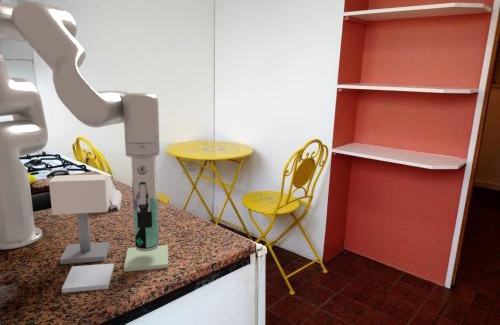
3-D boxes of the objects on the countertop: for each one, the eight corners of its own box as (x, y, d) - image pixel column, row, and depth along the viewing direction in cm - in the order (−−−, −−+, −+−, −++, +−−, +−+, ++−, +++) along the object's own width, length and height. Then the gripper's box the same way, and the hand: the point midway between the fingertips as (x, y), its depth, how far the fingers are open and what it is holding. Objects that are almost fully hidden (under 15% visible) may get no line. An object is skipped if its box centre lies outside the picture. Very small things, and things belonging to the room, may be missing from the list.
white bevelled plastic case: (119, 210, 121) (106, 184, 118) (105, 216, 120) (92, 189, 117) (122, 194, 137) (110, 170, 134) (109, 199, 136) (98, 175, 133)
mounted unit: (55, 264, 86) (46, 183, 82) (64, 249, 94) (56, 174, 89) (109, 260, 89) (103, 181, 84) (113, 245, 97) (109, 172, 92)
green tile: (123, 271, 84) (123, 267, 84) (127, 251, 94) (127, 247, 94) (168, 267, 87) (168, 264, 86) (167, 248, 96) (167, 245, 96)
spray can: (151, 239, 93) (148, 163, 88) (162, 246, 89) (160, 167, 85) (131, 245, 89) (127, 166, 85) (142, 253, 86) (138, 171, 81)
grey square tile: (62, 292, 76) (61, 288, 75) (72, 270, 84) (72, 266, 84) (108, 288, 78) (107, 284, 77) (113, 267, 86) (113, 263, 86)
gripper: (159, 156, 76) (161, 236, 81) (160, 141, 93) (162, 208, 97) (121, 156, 75) (125, 238, 79) (129, 141, 91) (132, 210, 95)
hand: (145, 221), depth 88 cm, fingers closed on spray can, 5 cm apart
